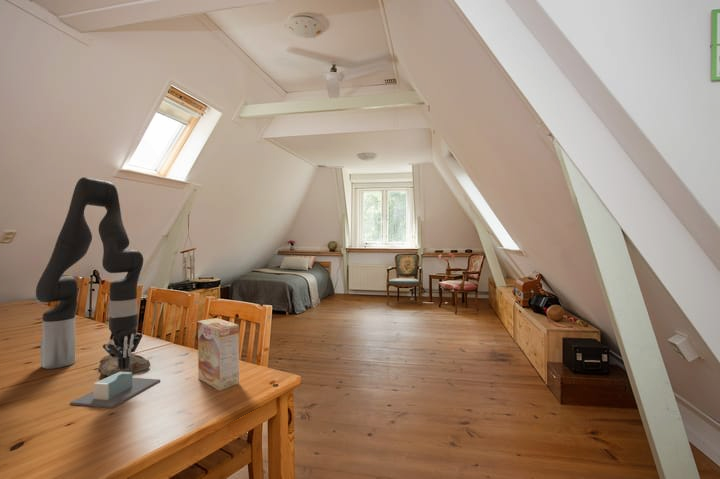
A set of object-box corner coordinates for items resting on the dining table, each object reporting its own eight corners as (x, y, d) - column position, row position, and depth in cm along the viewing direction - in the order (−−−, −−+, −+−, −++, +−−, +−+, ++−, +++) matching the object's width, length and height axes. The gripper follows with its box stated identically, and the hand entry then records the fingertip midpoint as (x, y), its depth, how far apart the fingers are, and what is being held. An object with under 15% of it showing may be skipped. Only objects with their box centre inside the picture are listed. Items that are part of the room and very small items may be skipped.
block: (119, 385, 108) (93, 398, 99) (119, 371, 108) (93, 383, 99) (132, 386, 108) (106, 399, 99) (132, 372, 107) (106, 384, 99)
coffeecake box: (197, 378, 115) (197, 320, 115) (217, 372, 120) (217, 317, 120) (218, 391, 105) (218, 328, 105) (239, 384, 111) (239, 324, 111)
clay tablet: (93, 366, 127) (103, 381, 113) (93, 353, 128) (104, 366, 114) (137, 358, 137) (151, 370, 124) (137, 345, 138) (152, 356, 124)
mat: (70, 404, 97) (70, 402, 97) (123, 378, 115) (123, 377, 115) (112, 408, 95) (112, 405, 95) (160, 381, 113) (160, 379, 113)
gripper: (130, 308, 114) (130, 360, 114) (93, 317, 101) (94, 376, 101) (150, 309, 113) (150, 361, 113) (115, 318, 100) (116, 377, 100)
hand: (123, 368), depth 107 cm, fingers closed
